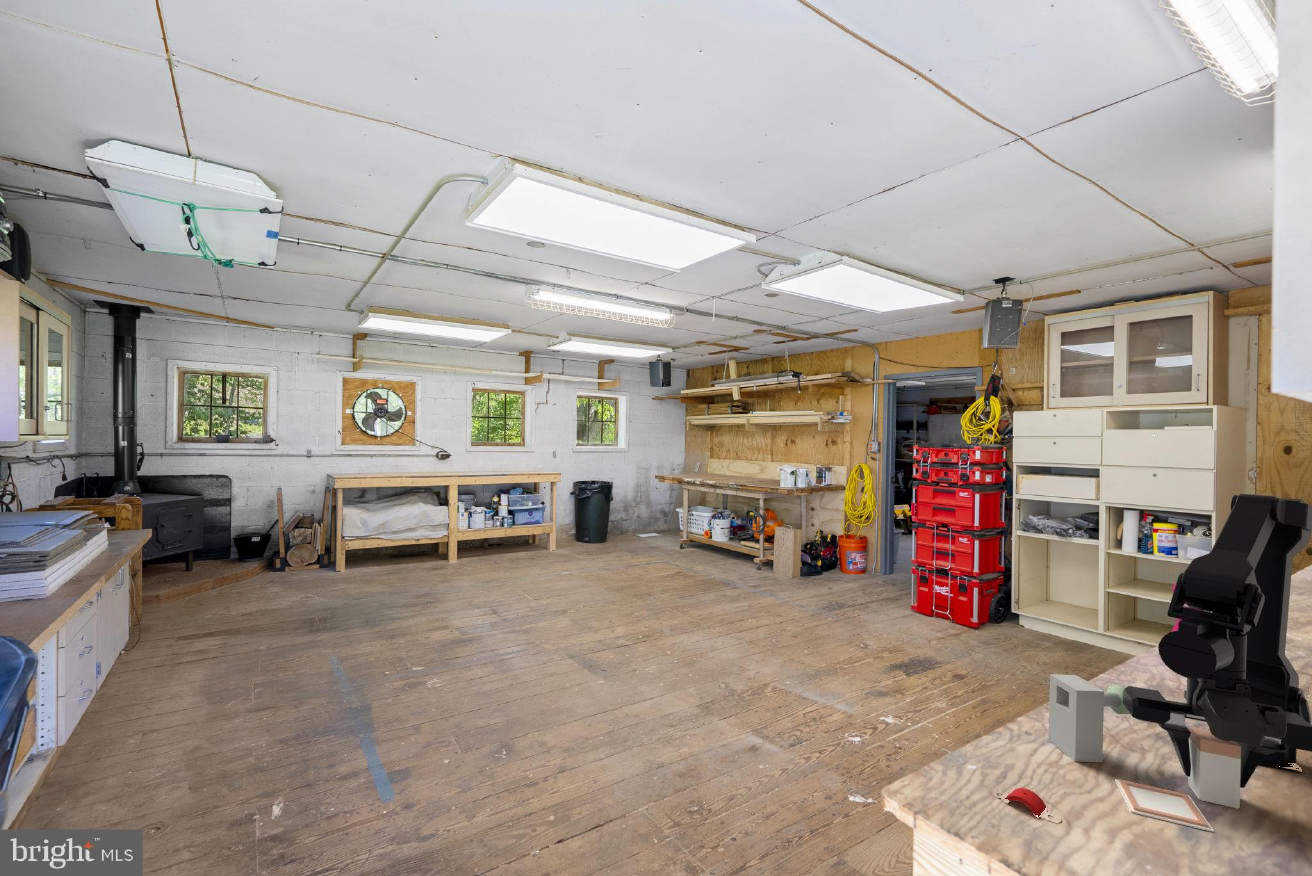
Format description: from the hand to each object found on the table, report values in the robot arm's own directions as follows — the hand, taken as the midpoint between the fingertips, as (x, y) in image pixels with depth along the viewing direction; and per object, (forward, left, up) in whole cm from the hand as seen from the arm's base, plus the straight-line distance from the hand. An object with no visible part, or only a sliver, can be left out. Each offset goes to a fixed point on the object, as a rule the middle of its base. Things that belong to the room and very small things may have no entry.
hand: (1213, 780), depth 79 cm
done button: (+11, -7, +4) cm, 14 cm away
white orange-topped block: (0, 0, -2) cm, 2 cm away
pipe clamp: (+23, +15, -3) cm, 28 cm away
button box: (+15, -5, -2) cm, 15 cm away
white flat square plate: (+7, +6, -2) cm, 9 cm away
